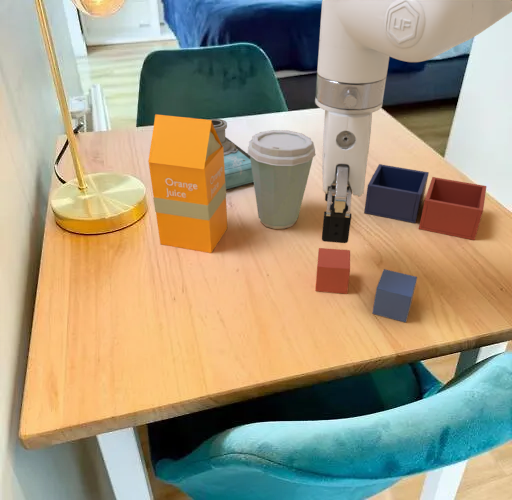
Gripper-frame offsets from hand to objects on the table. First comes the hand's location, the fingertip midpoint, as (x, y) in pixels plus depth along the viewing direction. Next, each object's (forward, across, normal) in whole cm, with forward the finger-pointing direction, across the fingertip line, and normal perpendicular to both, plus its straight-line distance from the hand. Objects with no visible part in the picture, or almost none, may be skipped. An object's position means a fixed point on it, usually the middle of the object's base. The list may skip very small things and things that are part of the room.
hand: (335, 220), depth 66 cm
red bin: (+10, +19, -20) cm, 29 cm away
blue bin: (+10, +23, -11) cm, 27 cm away
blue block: (+10, -4, -9) cm, 14 cm away
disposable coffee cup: (+11, +16, +9) cm, 21 cm away
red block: (+10, 0, 0) cm, 10 cm away
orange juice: (+11, +9, +22) cm, 26 cm away
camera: (+11, +32, +23) cm, 41 cm away
